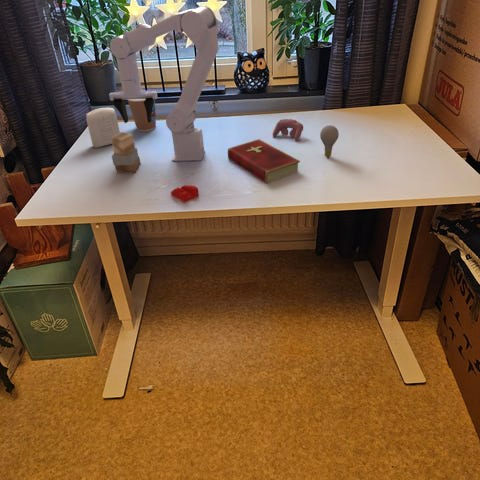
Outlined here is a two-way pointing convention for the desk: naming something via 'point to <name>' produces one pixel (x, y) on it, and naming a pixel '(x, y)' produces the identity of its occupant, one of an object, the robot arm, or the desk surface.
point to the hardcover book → (263, 160)
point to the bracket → (185, 193)
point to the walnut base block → (128, 167)
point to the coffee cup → (142, 114)
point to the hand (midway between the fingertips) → (138, 121)
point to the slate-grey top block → (125, 158)
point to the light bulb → (329, 138)
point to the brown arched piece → (288, 123)
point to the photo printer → (102, 126)
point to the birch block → (123, 143)
